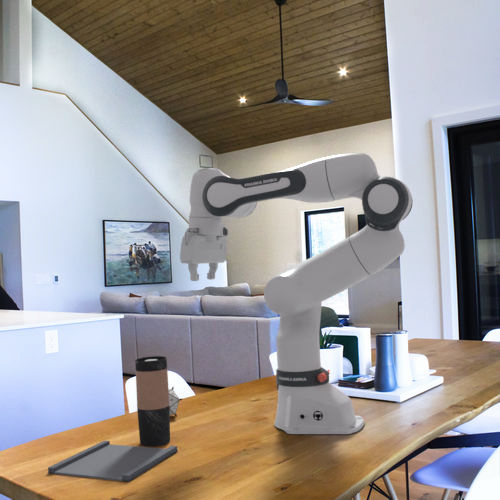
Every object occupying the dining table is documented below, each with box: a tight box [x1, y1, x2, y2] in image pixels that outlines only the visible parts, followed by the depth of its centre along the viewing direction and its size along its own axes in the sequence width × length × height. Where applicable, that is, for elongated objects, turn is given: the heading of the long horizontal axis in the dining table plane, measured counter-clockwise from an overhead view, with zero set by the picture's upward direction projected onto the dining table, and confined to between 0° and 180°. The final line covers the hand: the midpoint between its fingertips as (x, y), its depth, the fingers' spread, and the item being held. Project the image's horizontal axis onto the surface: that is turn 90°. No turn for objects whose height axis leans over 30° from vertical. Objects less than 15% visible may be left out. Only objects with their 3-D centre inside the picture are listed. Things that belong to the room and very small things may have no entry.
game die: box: [168, 386, 183, 417], centre depth 163 cm, size 9×8×10 cm
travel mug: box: [134, 355, 171, 448], centre depth 139 cm, size 8×8×20 cm
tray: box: [47, 440, 178, 483], centre depth 126 cm, size 20×19×1 cm
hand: (203, 280), depth 156 cm, fingers open, 8 cm apart
